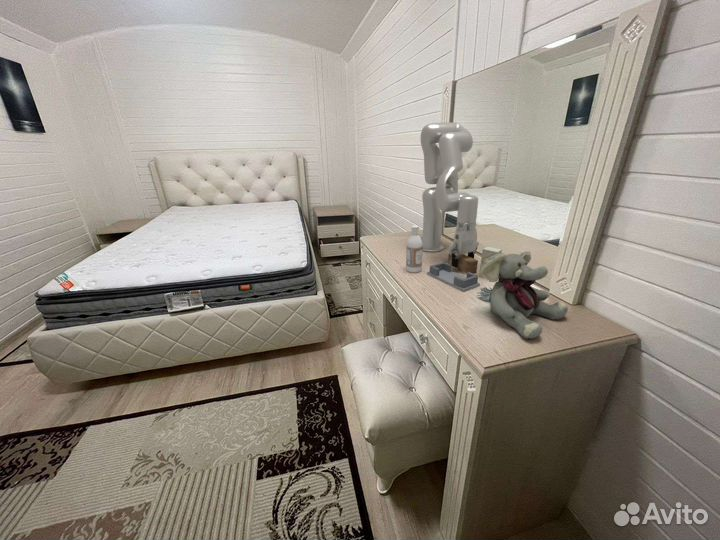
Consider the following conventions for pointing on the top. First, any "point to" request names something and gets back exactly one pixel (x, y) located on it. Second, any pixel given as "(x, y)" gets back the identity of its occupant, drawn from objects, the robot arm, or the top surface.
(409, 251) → the bath foam
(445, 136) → the robot arm
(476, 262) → the slat
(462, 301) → the top surface
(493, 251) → the skincare box
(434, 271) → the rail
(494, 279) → the plush elephant
